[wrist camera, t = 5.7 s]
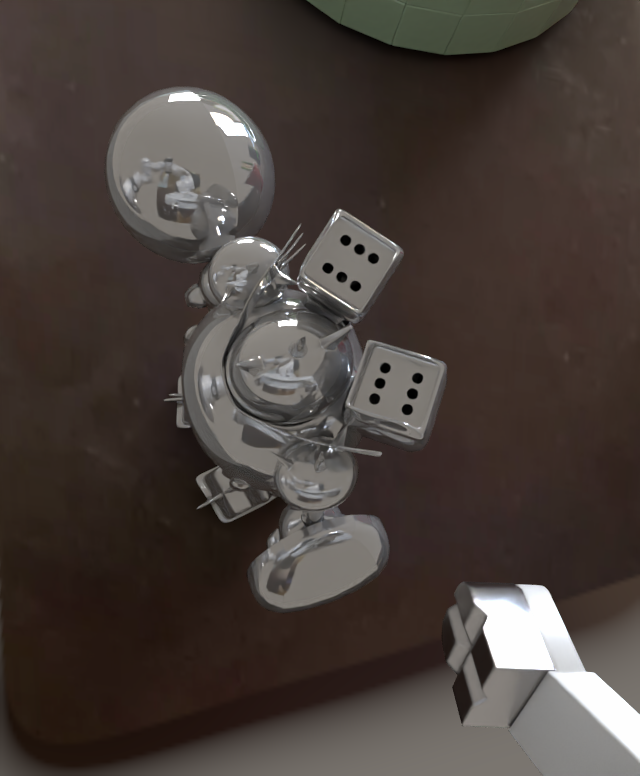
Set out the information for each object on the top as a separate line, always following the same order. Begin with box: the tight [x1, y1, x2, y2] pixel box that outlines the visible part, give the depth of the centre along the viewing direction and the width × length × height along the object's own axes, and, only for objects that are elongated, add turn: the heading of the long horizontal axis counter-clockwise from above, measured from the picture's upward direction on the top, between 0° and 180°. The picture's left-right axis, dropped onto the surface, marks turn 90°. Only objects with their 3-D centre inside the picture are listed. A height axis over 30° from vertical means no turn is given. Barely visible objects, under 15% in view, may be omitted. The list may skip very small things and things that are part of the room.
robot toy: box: [104, 87, 447, 614], centre depth 17 cm, size 15×6×15 cm, turn 19°
